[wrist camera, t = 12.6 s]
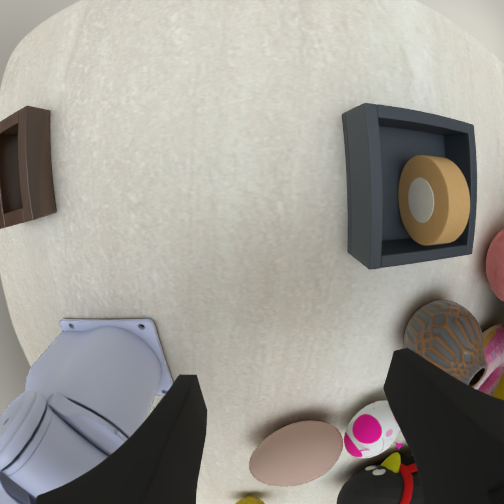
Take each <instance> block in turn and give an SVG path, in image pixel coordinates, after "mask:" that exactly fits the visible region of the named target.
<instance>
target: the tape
mask: <svg viewBox="0 0 504 504" xmlns="http://www.w3.org/2000/svg"><path fill="white" fill-rule="evenodd" d="M398 201H399V209H400V214H401V218H402V221H403V224H404V226H405V229H406V231H407V232H408V234H409V235H410V237H411V238H412V239H413V240H414V241H416V242H417V243H419V244H421V245H436V244H444V243H450V242H453V241H455V240H456V239H457V238H458V237H459V236H460V235H461V234H462V232H463V231H464V229H465V227H466V225H467V222H468V218H469V213H470V195H469V189H468V185H467V182H466V180H465V177H464V175H463V174H462V172H461V170H460V169H459V168H458V166H457V165H456V164H454V163H453V162H452V161H451V160H449V159H447V158H443V157H435V156H427V155H417V156H415V157H413V158H411V159H410V160H409V161H408V162H407V163H406V165H405V166H404V168H403V171H402V173H401V177H400V181H399V189H398Z"/></svg>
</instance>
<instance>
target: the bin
mask: <svg viewBox="0 0 504 504" xmlns="http://www.w3.org/2000/svg"><path fill="white" fill-rule="evenodd" d="M342 120H343V130H344V141H345V154H346V170H347V193H348V253H349V254H351V255H352V256H353V257H354V258H356V259H357V260H358V261H359V262H361V263H362V264H363V265H364V266H366V267H367V268H368V269H378V268H380V267H381V268H383V267H390V266H398V265H405V264H411V263H418V262H425V261H431V260H438V259H444V258H450V257H456V256H462V255H469V254H472V249H473V241H474V232H475V220H476V203H477V163H476V146H475V134H474V126H473V125H472V124H469V123H466V122H462V121H459V120H455V119H451V118H447V117H443V116H439V115H435V114H430V113H425V112H420V111H415V110H410V109H404V108H398V107H392V106H385V105H376V104H369V103H364V104H362V105H360V106H358V107H356V108H353V109H351V110H349V111H347V112H345V113H343V114H342ZM417 155H427V156H435V157H443V158H447V159H449V160H451V161H452V162H453V163H454V164H456V165H457V166H458V168H459V169H460V170H461V172H462V174H463V175H464V177H465V180H466V182H467V185H468V189H469V195H470V213H469V218H468V222H467V225H466V227H465V229H464V231H463V232H462V234H461V235H460V236H459V237H458V238H457V239H456V240H455V241H453V242H450V243H444V244H436V245H421V244H419V243H417V242H416V241H414V240H413V239H412V238H411V237H410V235H409V234H408V232H407V231H406V229H405V226H404V224H403V221H402V218H401V214H400V209H399V201H398V189H399V181H400V177H401V173H402V171H403V168H404V166H405V165H406V163H407V162H408V161H409V160H410V159H411V158H413V157H415V156H417Z"/></svg>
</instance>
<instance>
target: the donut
mask: <svg viewBox="0 0 504 504" xmlns="http://www.w3.org/2000/svg"><path fill="white" fill-rule="evenodd" d="M482 334H483V340H484V353H485V359H486V362H487V365H488V370H487V373H486V375H485V376H484V378H483V379H482V381H481V382H480V383H479V384H478V385H477V386H476V387H475V389H477V390H479V391H481V392H483V393H486V394H488V395H491V396H492V395H493V394H494V392H495V390H496V388H497V386H498V383H499V381H500V379H501V377H502V375H503V373H504V325H503V324H499V325H495V326H492V327H490V328H489V329H487V330H486V331H484V332H483V333H482Z"/></svg>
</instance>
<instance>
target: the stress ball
mask: <svg viewBox="0 0 504 504" xmlns="http://www.w3.org/2000/svg"><path fill="white" fill-rule="evenodd" d="M399 433H400V428H399V426H398V424H397V422H396V420H395V417H394V415H393V413H392V411H391V409H390V407H389V404H388V401H377V402H373V403H371V404H369V405H367V406H365V407H364V408H362V409H361V410H360V411H359V412H358V413H357V414H356V415H355V416H354V417H353V418H352V420H351V421H350V423H349V424H348V426H347V429H346V432H345V436H344V444H345V447H346V449H347V451H348V452H349V453H350V454H351V455H352V456H354V457H357V458H371V457H374V456H377V455H379V454H381V453H382V452H384V451H385V450H386V449H388V448H389V447H390V446H391V445H392V444H393V442H394V441H395V440H396V438H397V437H398V435H399ZM394 443H395V442H394ZM396 445H397V447H398V450H399V448H400V447H401V446H402V445H403V444H398V443H396Z"/></svg>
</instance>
